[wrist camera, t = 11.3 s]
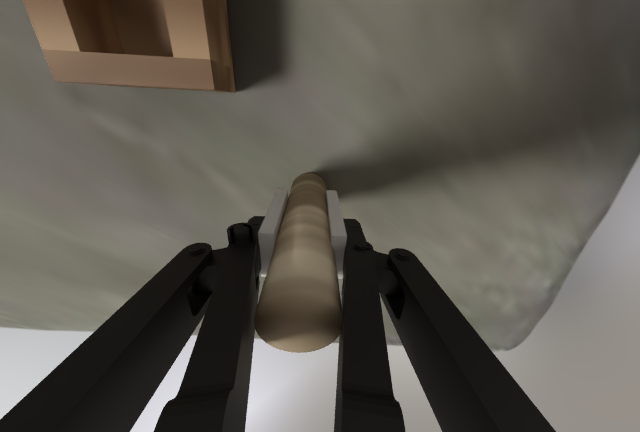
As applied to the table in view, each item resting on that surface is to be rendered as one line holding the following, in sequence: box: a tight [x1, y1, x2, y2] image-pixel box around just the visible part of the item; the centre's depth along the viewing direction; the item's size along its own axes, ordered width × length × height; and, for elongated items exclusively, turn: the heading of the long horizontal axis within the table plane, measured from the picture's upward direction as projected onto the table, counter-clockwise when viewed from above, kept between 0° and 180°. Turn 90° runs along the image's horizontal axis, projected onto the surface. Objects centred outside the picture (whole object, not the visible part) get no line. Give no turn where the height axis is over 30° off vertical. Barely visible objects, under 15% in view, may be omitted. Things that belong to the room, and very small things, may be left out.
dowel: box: [254, 173, 343, 352], centre depth 15 cm, size 3×3×14 cm
